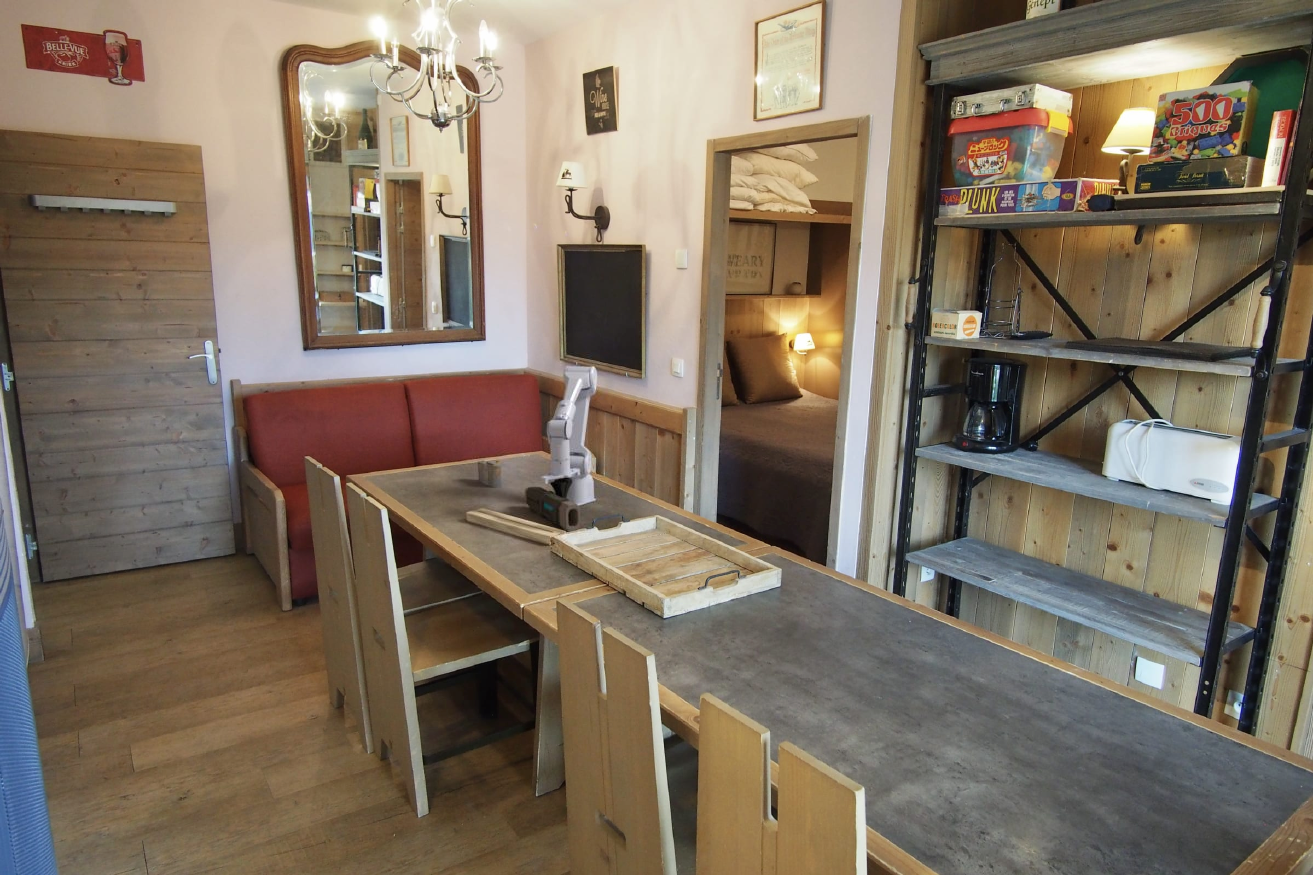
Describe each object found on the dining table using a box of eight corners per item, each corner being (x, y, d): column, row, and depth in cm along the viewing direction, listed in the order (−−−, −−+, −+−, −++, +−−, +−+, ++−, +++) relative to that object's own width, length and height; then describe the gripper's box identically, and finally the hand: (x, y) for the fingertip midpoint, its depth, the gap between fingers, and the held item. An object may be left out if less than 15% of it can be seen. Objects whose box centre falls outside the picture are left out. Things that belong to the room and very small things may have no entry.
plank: (482, 515, 247) (482, 507, 246) (566, 539, 225) (565, 530, 224) (466, 520, 242) (466, 512, 242) (550, 545, 220) (550, 536, 220)
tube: (543, 513, 259) (588, 526, 234) (524, 522, 255) (569, 536, 230) (532, 482, 256) (577, 491, 231) (514, 490, 253) (557, 500, 228)
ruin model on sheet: (502, 487, 281) (501, 460, 279) (494, 489, 279) (493, 461, 277) (486, 481, 289) (485, 454, 287) (478, 482, 287) (477, 455, 285)
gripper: (552, 465, 236) (553, 509, 239) (586, 456, 247) (587, 499, 250) (535, 461, 241) (537, 505, 243) (570, 453, 252) (571, 495, 255)
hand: (561, 502), depth 247 cm, fingers closed
